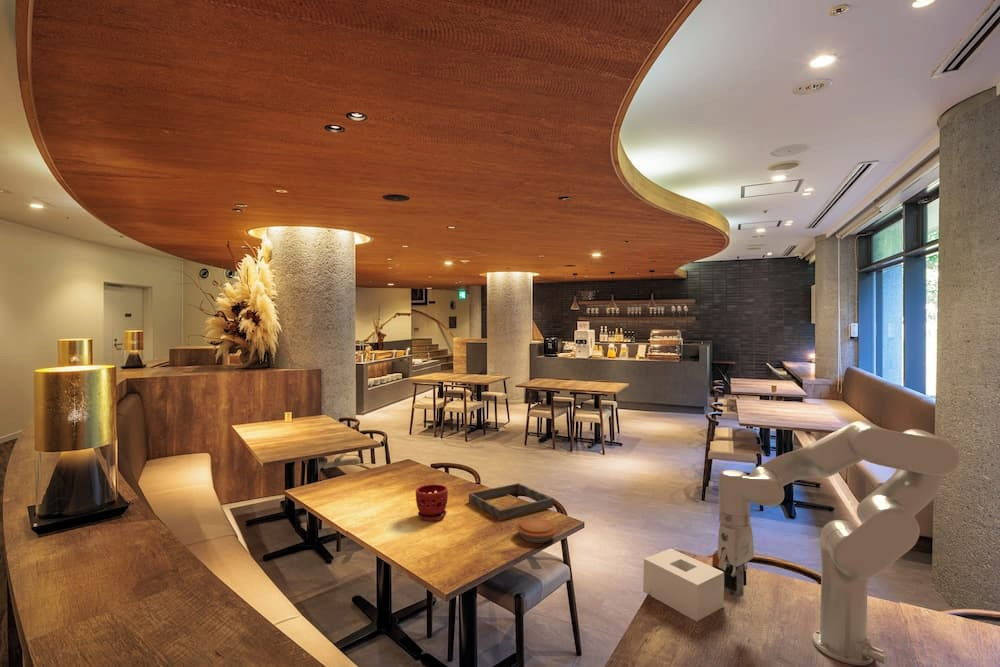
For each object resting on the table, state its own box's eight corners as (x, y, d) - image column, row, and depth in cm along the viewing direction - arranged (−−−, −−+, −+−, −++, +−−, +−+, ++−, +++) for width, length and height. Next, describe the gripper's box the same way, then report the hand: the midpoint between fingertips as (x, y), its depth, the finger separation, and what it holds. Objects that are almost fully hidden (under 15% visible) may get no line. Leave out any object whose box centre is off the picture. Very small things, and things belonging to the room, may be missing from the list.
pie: (555, 547, 177) (555, 534, 177) (512, 543, 181) (513, 529, 180) (558, 530, 193) (558, 518, 192) (519, 526, 196) (519, 514, 196)
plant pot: (450, 512, 209) (450, 484, 209) (443, 524, 196) (444, 494, 196) (420, 510, 211) (420, 482, 211) (411, 522, 198) (412, 492, 197)
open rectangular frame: (552, 507, 217) (552, 498, 217) (500, 520, 201) (500, 511, 201) (518, 491, 237) (518, 483, 237) (468, 502, 221) (469, 493, 221)
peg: (746, 593, 132) (746, 563, 132) (738, 598, 129) (738, 568, 129) (732, 587, 135) (732, 558, 135) (724, 592, 133) (723, 562, 133)
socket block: (723, 606, 141) (724, 572, 141) (696, 621, 134) (697, 585, 134) (670, 579, 156) (670, 548, 156) (643, 591, 149) (643, 558, 148)
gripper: (730, 530, 124) (731, 602, 124) (764, 515, 134) (765, 582, 134) (703, 520, 130) (704, 590, 130) (737, 507, 140) (738, 571, 140)
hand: (735, 585), depth 132 cm, fingers closed on peg, 4 cm apart
